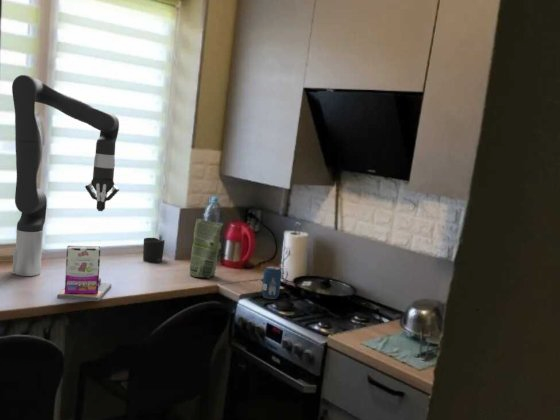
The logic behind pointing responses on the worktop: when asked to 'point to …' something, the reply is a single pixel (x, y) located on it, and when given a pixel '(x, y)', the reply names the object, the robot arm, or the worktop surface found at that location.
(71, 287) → the candy bar box
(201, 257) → the pouch
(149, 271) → the worktop surface
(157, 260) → the pen holder
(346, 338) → the worktop surface
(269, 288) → the soda can
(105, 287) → the activity board
